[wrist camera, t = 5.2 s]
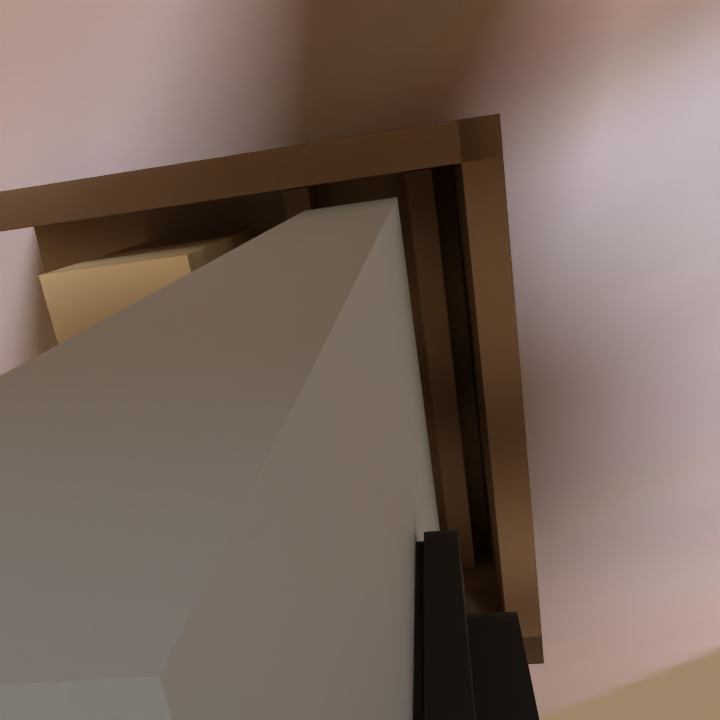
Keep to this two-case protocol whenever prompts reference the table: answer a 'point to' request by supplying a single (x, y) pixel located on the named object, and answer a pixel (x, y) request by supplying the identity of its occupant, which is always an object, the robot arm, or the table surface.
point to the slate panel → (223, 492)
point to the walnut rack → (426, 287)
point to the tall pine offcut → (127, 277)
